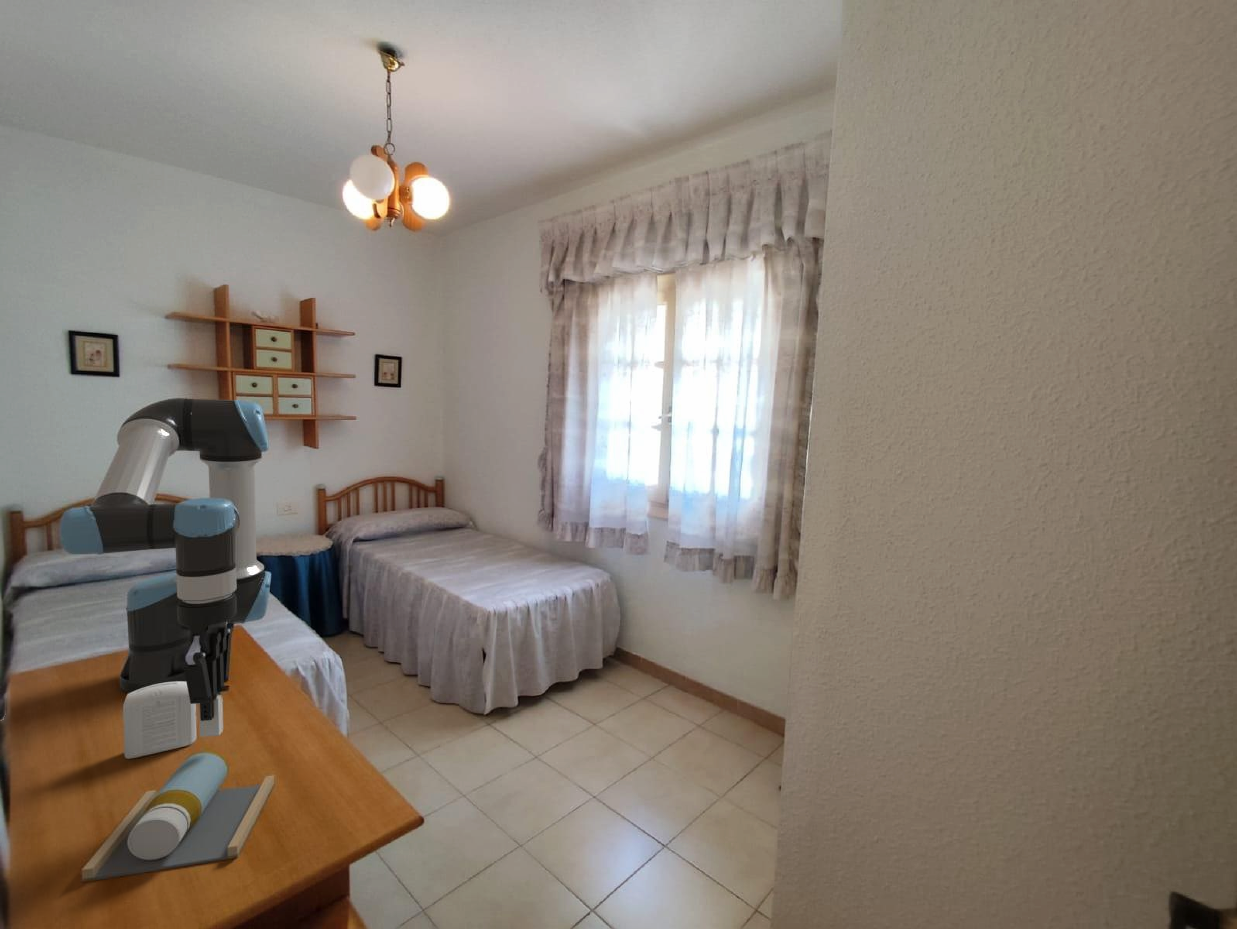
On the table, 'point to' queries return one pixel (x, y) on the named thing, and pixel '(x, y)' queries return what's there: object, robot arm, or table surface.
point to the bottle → (178, 805)
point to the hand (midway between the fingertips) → (211, 733)
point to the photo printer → (158, 719)
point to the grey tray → (186, 834)
